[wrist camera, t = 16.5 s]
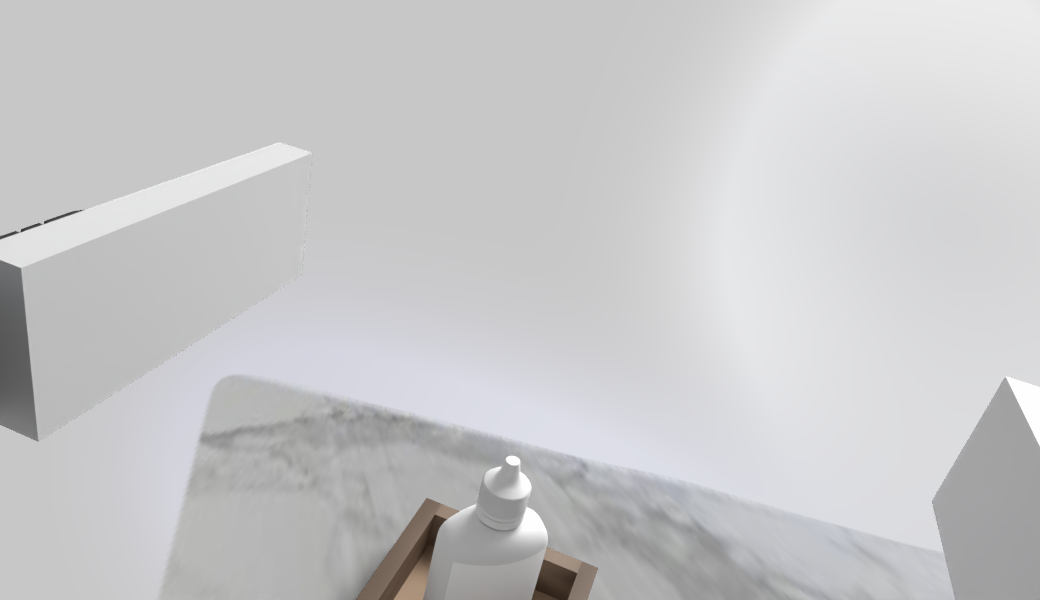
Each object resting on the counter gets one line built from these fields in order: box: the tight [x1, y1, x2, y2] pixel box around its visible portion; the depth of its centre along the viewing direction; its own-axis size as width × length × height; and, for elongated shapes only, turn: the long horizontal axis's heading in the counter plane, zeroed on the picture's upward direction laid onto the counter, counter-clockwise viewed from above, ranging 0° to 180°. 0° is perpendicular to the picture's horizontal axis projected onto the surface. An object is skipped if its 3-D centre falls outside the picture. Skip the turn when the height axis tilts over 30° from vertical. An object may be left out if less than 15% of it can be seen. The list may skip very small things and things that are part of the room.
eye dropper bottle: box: [423, 456, 548, 600], centre depth 40 cm, size 4×6×12 cm
